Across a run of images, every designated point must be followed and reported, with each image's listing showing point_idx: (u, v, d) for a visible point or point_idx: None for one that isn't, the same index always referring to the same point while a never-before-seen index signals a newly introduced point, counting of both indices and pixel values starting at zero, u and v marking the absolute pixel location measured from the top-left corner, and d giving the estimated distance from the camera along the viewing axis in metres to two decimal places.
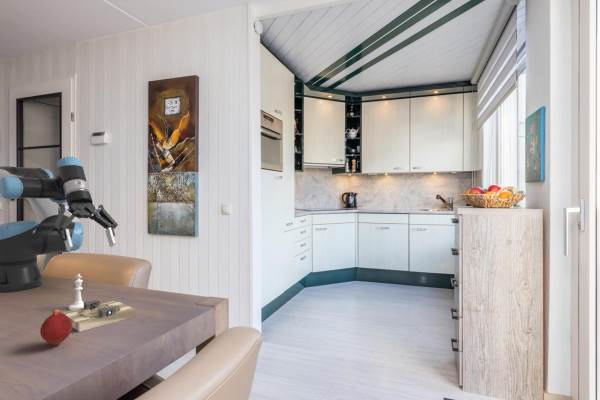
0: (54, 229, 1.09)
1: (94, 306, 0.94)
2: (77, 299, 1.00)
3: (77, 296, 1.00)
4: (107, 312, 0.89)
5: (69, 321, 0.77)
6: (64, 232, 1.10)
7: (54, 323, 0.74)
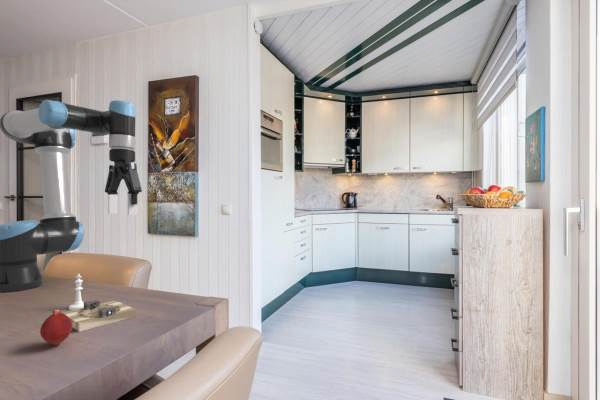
0: (137, 191, 1.05)
1: (94, 306, 0.94)
2: (77, 299, 1.00)
3: (77, 296, 1.00)
4: (107, 312, 0.89)
5: (69, 321, 0.77)
6: None
7: (54, 323, 0.74)
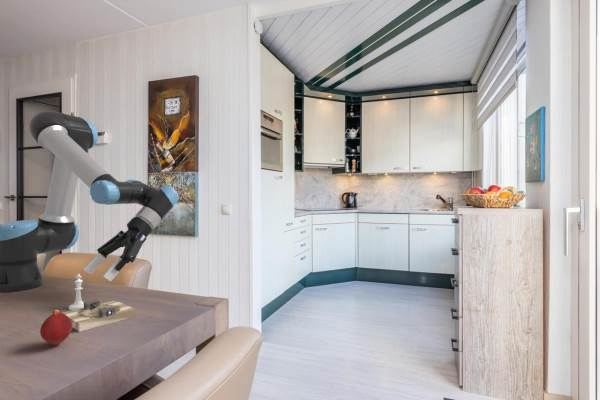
0: (129, 259, 1.02)
1: (94, 306, 0.94)
2: (77, 299, 1.00)
3: (77, 296, 1.00)
4: (107, 312, 0.89)
5: (69, 321, 0.77)
6: None
7: (54, 323, 0.74)
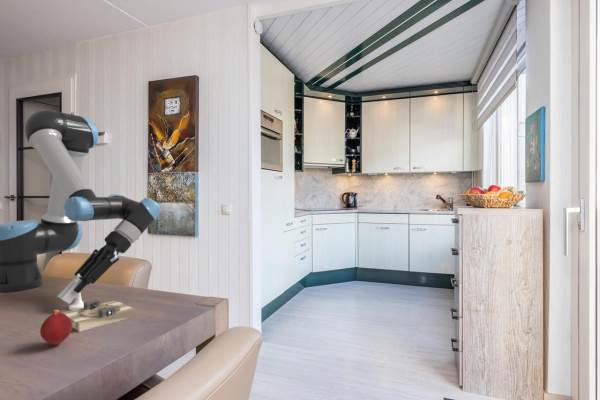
0: (88, 281, 0.99)
1: (94, 306, 0.94)
2: (77, 299, 1.00)
3: (77, 296, 1.00)
4: (107, 312, 0.89)
5: (69, 321, 0.77)
6: None
7: (54, 323, 0.74)
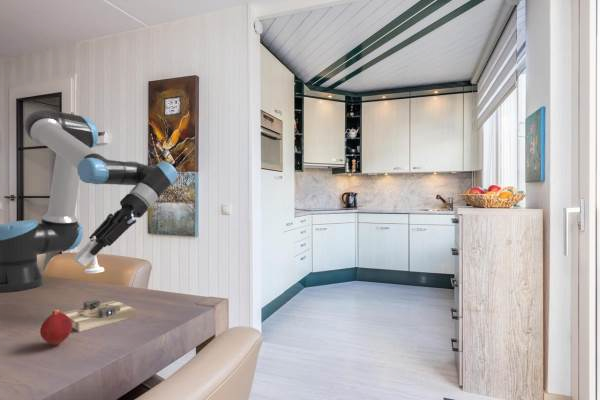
0: (105, 243, 0.94)
1: (94, 306, 0.94)
2: (93, 262, 0.94)
3: (93, 259, 0.95)
4: (107, 312, 0.89)
5: (69, 321, 0.77)
6: None
7: (54, 323, 0.74)
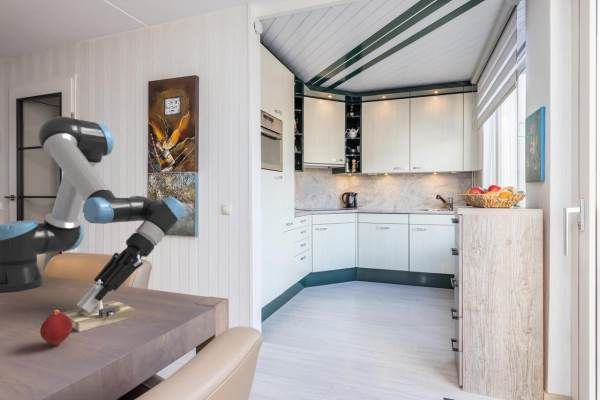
0: (110, 287, 0.91)
1: None
2: (98, 307, 0.92)
3: (98, 304, 0.92)
4: (109, 313, 0.88)
5: (69, 321, 0.77)
6: None
7: (54, 323, 0.74)
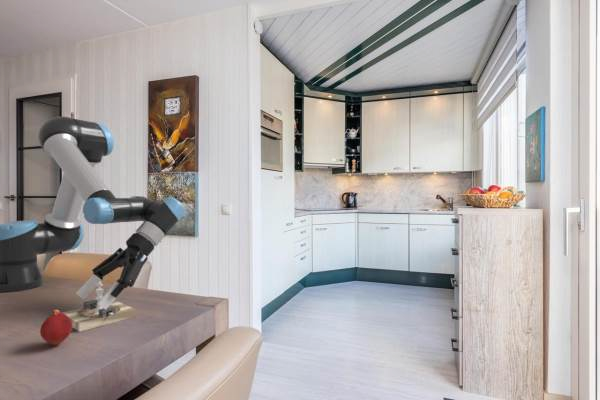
0: (127, 284, 0.89)
1: (94, 306, 0.94)
2: (98, 309, 0.92)
3: (98, 306, 0.92)
4: (109, 313, 0.88)
5: (69, 321, 0.77)
6: None
7: (54, 323, 0.74)
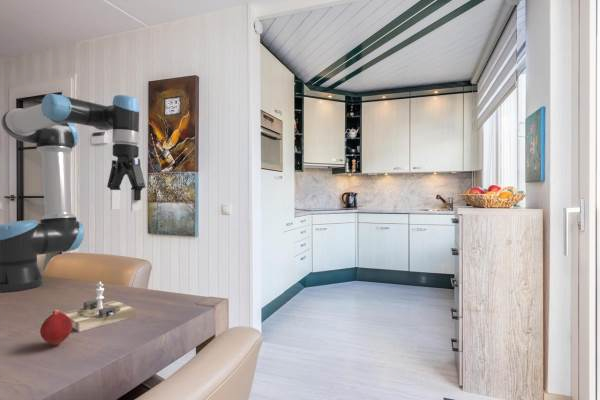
0: (140, 187, 1.04)
1: (94, 306, 0.94)
2: (98, 309, 0.92)
3: (98, 306, 0.92)
4: (109, 313, 0.88)
5: (69, 321, 0.77)
6: None
7: (54, 323, 0.74)
